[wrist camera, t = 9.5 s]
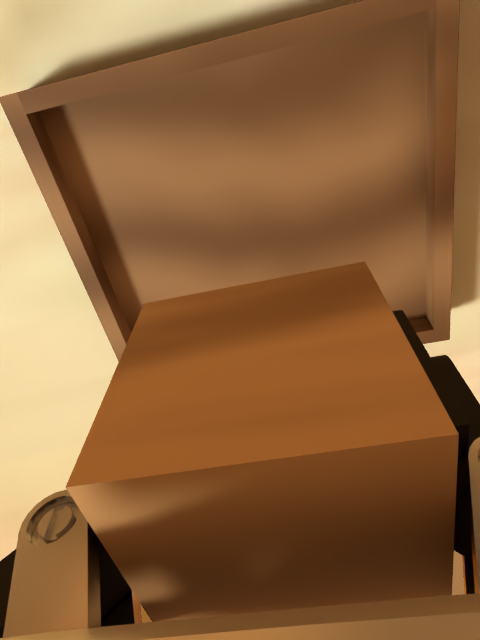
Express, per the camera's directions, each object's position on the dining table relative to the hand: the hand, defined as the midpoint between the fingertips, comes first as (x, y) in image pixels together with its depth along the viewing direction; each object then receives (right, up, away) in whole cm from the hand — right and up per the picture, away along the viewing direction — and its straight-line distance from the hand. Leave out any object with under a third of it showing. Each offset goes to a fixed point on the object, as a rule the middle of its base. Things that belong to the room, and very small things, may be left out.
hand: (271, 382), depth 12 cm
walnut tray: (0, +7, +11) cm, 13 cm away
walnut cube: (0, 0, +1) cm, 1 cm away
